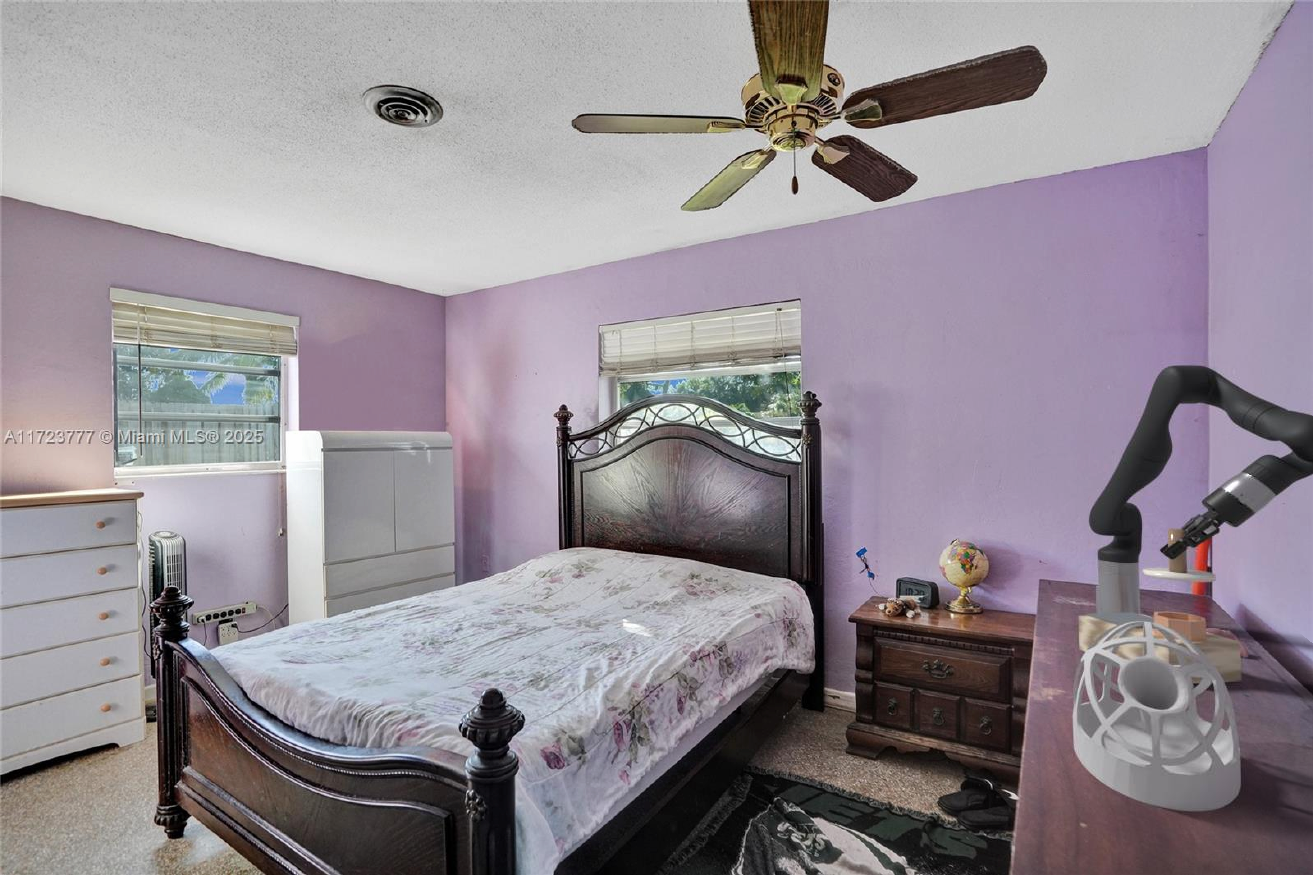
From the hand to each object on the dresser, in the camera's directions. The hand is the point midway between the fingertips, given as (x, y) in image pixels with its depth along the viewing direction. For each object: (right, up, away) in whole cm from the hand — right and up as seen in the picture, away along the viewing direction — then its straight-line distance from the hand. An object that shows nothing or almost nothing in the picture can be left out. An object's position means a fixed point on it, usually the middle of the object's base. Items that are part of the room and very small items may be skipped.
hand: (1165, 555), depth 138 cm
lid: (+2, -4, -1) cm, 5 cm away
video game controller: (+21, -25, +12) cm, 35 cm away
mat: (0, -17, +11) cm, 20 cm away
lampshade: (-36, -24, -43) cm, 61 cm away
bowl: (+2, -17, -2) cm, 17 cm away
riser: (+1, -25, +5) cm, 25 cm away
